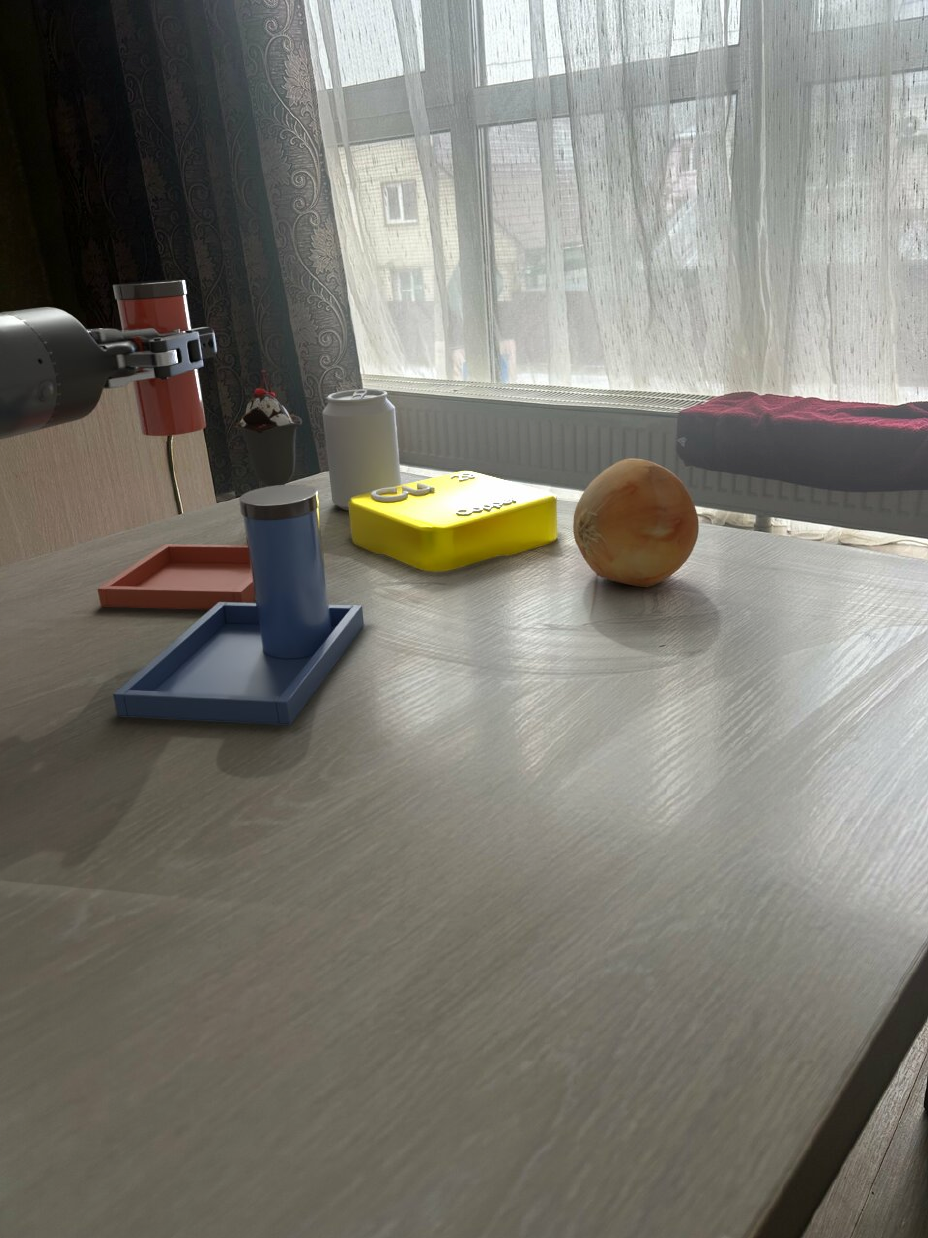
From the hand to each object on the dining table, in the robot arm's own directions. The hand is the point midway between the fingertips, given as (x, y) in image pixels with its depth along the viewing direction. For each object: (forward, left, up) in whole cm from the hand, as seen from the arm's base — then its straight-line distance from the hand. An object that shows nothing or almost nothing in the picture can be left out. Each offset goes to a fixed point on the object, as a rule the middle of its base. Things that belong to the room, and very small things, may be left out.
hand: (182, 341), depth 76 cm
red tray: (-1, -2, -20) cm, 20 cm away
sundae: (-2, +19, -20) cm, 28 cm away
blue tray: (+10, -17, -20) cm, 28 cm away
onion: (+35, +2, -20) cm, 41 cm away
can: (+6, +24, -20) cm, 32 cm away
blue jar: (+12, -13, -20) cm, 27 cm away
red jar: (0, -3, -6) cm, 7 cm away
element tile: (+18, +12, -20) cm, 30 cm away
